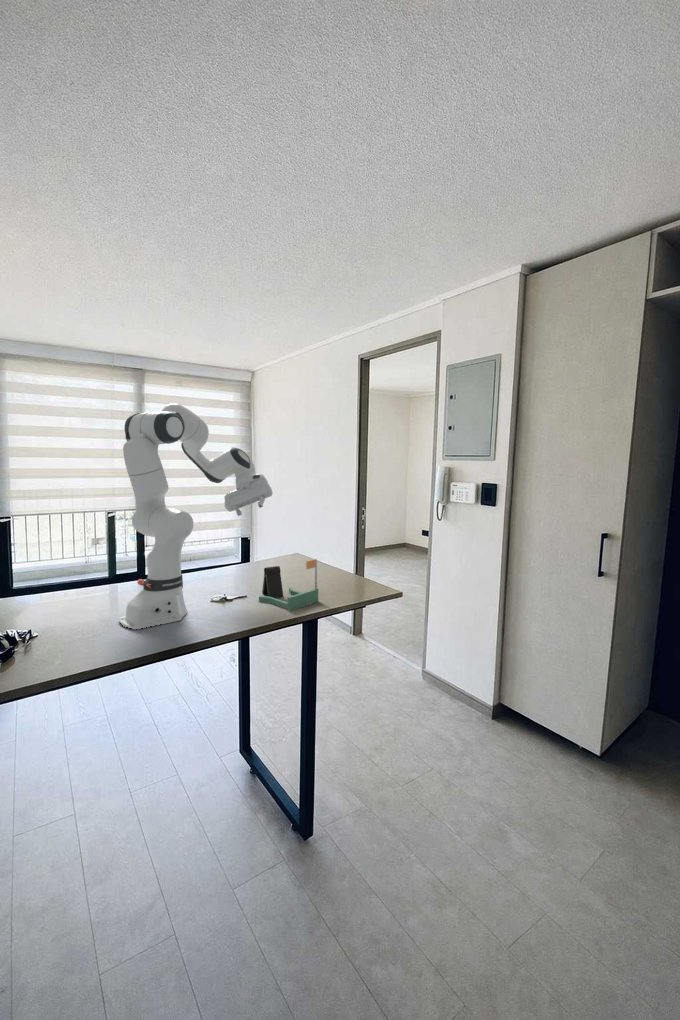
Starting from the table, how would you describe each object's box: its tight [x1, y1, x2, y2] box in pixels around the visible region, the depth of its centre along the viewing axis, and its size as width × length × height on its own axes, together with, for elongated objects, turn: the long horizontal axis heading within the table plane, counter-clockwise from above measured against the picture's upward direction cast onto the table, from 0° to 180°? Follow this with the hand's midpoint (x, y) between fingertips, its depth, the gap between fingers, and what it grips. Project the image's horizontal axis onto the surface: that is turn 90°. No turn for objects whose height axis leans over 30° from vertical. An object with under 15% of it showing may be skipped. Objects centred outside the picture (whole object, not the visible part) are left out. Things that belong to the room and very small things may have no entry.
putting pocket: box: [258, 558, 319, 612], centre depth 175 cm, size 17×18×17 cm
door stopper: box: [261, 565, 284, 599], centre depth 182 cm, size 9×6×12 cm, turn 28°
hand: (249, 510), depth 179 cm, fingers open, 8 cm apart
